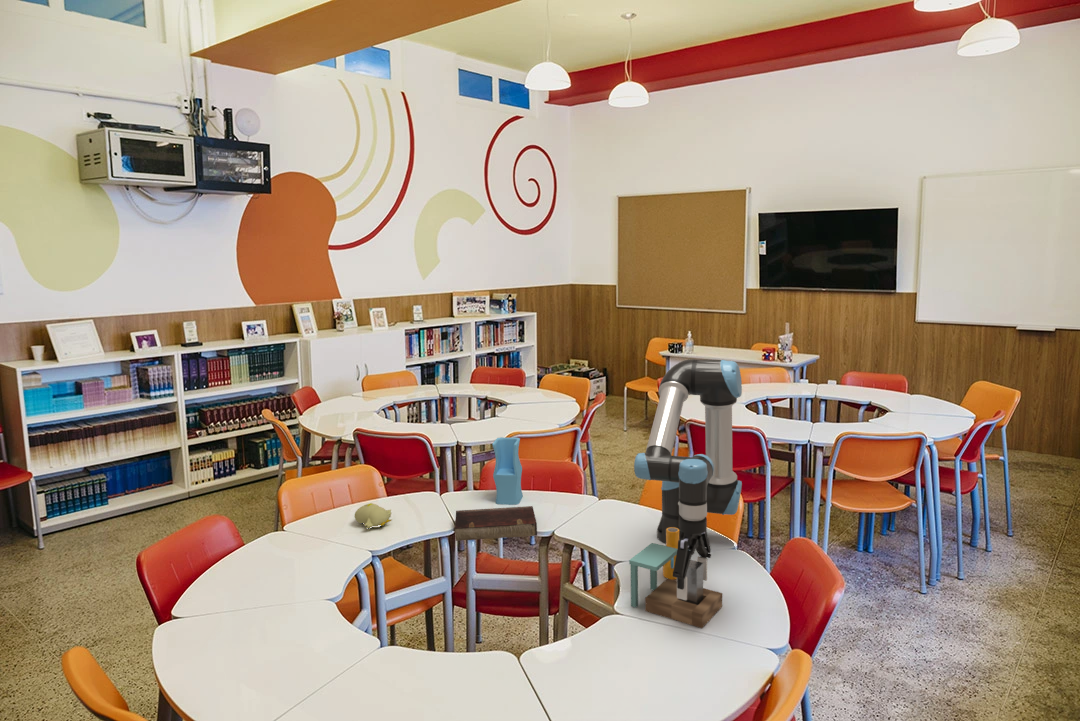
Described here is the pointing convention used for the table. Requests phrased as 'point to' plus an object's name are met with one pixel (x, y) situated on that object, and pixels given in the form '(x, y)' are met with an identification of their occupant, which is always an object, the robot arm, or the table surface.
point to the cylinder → (672, 541)
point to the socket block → (682, 605)
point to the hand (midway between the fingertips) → (692, 588)
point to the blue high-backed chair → (507, 471)
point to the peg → (694, 582)
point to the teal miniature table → (649, 566)
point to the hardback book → (495, 523)
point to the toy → (372, 515)
